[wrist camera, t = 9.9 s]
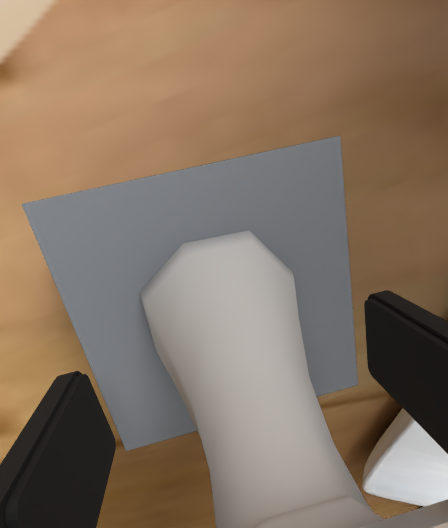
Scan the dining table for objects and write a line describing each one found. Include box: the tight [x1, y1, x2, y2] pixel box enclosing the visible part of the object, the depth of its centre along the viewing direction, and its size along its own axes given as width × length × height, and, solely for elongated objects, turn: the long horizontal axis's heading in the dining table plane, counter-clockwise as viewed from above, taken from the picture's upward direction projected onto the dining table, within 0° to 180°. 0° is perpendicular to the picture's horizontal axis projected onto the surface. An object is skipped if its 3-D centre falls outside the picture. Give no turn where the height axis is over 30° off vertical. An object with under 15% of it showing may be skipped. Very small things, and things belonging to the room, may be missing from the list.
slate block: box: [22, 136, 358, 451], centre depth 16 cm, size 13×13×5 cm
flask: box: [139, 231, 384, 528], centre depth 8 cm, size 7×7×10 cm
